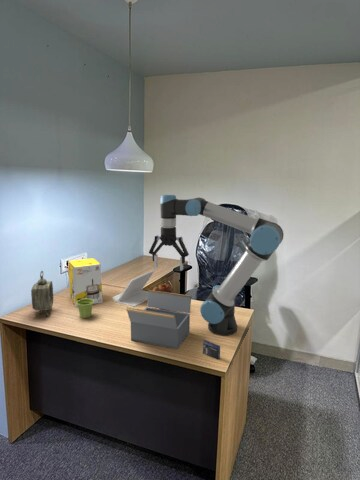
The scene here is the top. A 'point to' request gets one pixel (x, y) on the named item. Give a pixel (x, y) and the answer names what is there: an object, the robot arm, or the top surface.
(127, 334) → the top surface
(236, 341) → the top surface
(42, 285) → the tabletop clock
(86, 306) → the plant pot
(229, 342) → the top surface
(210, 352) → the mini dv tape
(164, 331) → the carton
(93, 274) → the packaging box
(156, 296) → the far flap
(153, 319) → the near flap
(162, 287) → the reddish brown bumpy lump
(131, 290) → the tablet stand
